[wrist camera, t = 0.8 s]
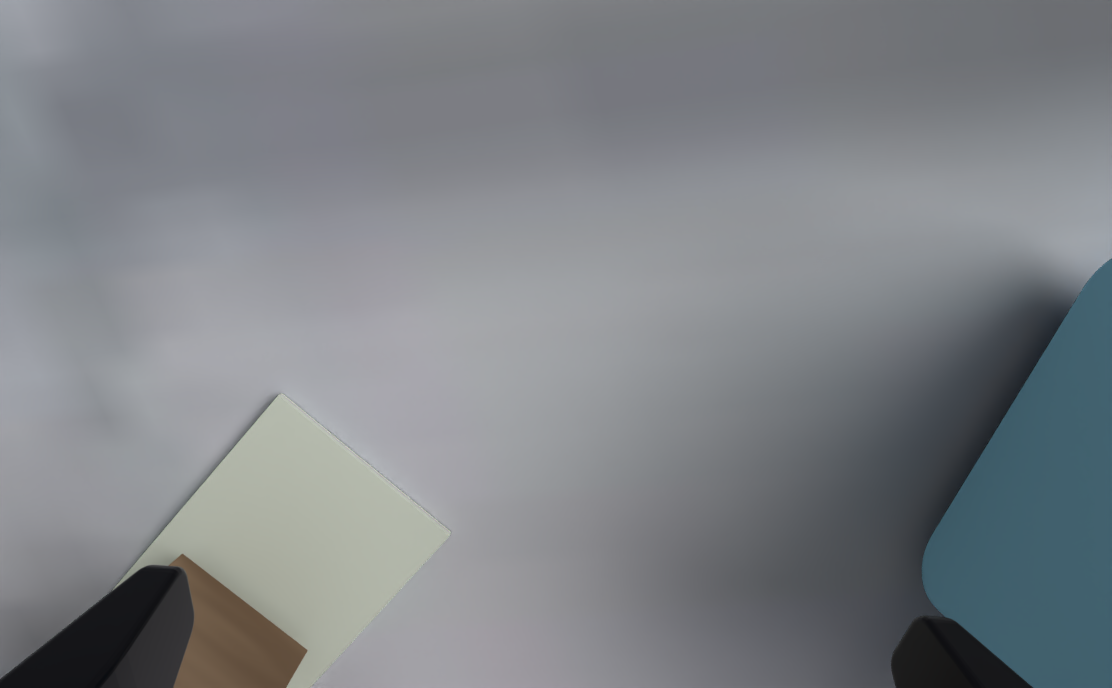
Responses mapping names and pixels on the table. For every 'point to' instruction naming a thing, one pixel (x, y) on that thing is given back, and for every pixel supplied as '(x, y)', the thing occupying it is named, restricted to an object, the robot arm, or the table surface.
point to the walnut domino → (232, 640)
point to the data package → (1041, 515)
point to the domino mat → (301, 534)
